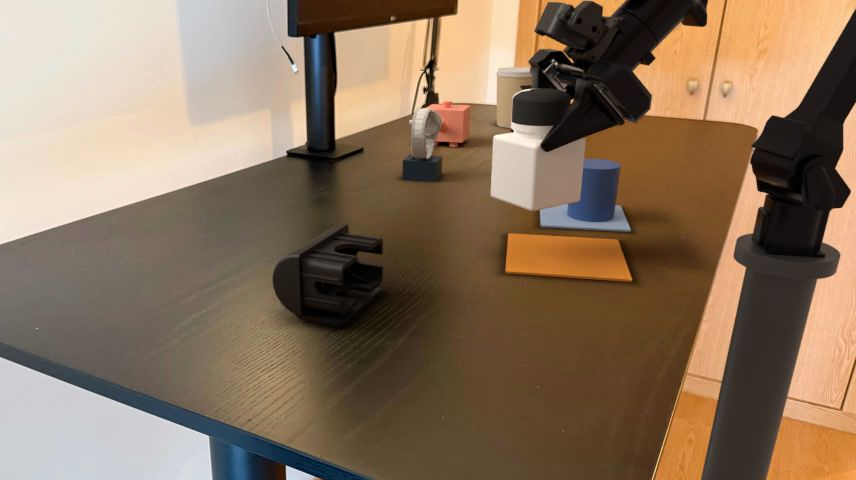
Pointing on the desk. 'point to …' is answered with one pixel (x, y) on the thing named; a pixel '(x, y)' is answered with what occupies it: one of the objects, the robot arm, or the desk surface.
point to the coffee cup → (510, 91)
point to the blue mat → (560, 219)
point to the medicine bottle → (536, 155)
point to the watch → (423, 147)
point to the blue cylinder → (597, 191)
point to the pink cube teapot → (452, 122)
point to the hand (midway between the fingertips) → (527, 140)
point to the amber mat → (566, 257)
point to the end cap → (329, 278)
